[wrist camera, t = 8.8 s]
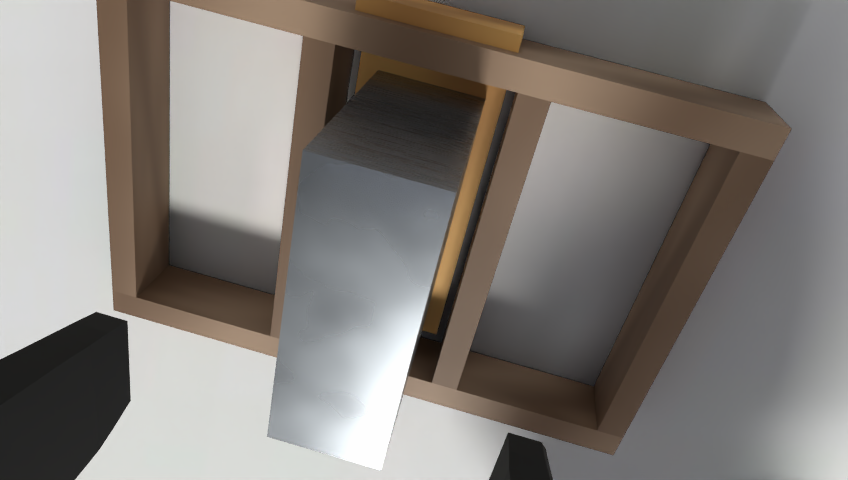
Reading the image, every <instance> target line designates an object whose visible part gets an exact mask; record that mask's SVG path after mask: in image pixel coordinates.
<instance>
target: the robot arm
mask: <svg viewBox="0 0 848 480" xmlns="http://www.w3.org/2000/svg"><path fill="white" fill-rule="evenodd" d="M130 401H131V400H130V375H129V350H128V325H127V321H125V320H122V319H118V318H115V317H111V316H108V315H105V314H101V313H98V312H95V313H93V314H91V315H89V316H87V317H85V318H83V319H81V320H79V321H77V322H75V323H73V324H71V325H69V326H67V327H65V328H63V329H61V330H59V331H57V332H55V333H53V334H51V335H49V336H47V337H45V338H43V339H41V340H39V341H37V342H35V343H33V344H31V345H29V346H27V347H25V348H23V349H21V350H19V351H17V352H15V353H13V354H11V355H9V356H7V357H4V358H2V359H0V480H75V479H76V478H77V476H78V475H79V474H80V473H81V471H82V470H83V469H84V468H85V467H86V465H87V464H88V463H89V462H90V460H91V459H92V458H93V457H94V455H95V454H96V453H97V452H98V450H99V449H100V448H101V446H102V445H103V443H104V442H105V440H106V439H107V437H108V435H109V434H110V432H111V431H112V429H113V428H114V426H115V425H116V423H117V422H118V420H119V418H120V417H121V415H122V413H123V412H124V410H125V409H126V407H127V405H128V404H129V402H130ZM489 480H553V478H552V474H551V470H550V466H549V462H548V458H547V453H546V449H545V447H544V445H543V444H542V442H539V441H535V440H532V439H528V438H525V437H522V436H518V435H515V434H511V433H508V435H507V437H506V439H505V442H504V444H503V447H502V449H501V452H500V454H499V457H498V459H497V462H496V464H495V467H494V469H493V472H492V474H491V476H490V479H489Z"/></svg>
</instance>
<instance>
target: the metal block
mask: <svg viewBox="0 0 848 480" xmlns="http://www.w3.org/2000/svg"><path fill="white" fill-rule="evenodd" d="M485 100H486V99H485V98H481V97H477V96H473V95H470V94H466V93H462V92H459V91H455V90H451V89H447V88H444V87H440V86H436V85H433V84H429V83H425V82H421V81H418V80H414V79H410V78H407V77H403V76H399V75H395V74H392V73H388V72H384V71H381V70H378V71H377V72H376V73H375V74H374V75H373V76H372V77H371V78H370V79H369V80H368V81H367V82H366V83H365V85H364V86H363V87H362V88H361V89H360V90H359V91H358V92H357V93H356V94H355V95H354V96H353V97H352V98H351V99H350V100H349V102H348V103H347V104H346V105H345V106H344V107H343V108H342V109H341V110H340V111H339V112H338V113H337V114H336V115H335V116H334V117H333V119H332V120H331V121H330V122H329V123H328V124H327V125H326V126H325V127H324V128H323V129H322V130H321V131H320V132H319V133H318V134H317V135H316V137H315V138H314V139H313V140H312V141H311V142H310V143H309V144H308V145H307V146H306V147H305V148H304V149H303V151H302V159H301V167H300V175H299V183H298V191H297V200H296V208H295V216H294V224H293V232H292V240H291V248H290V256H289V264H288V272H287V280H286V289H285V297H284V305H283V313H282V321H281V329H280V337H279V345H278V353H277V361H276V369H275V378H274V386H273V394H272V402H271V410H270V418H269V426H268V434H267V437H270V438H274V439H277V440H280V441H284V442H287V443H290V444H294V445H297V446H300V447H304V448H307V449H310V450H314V451H317V452H320V453H324V454H327V455H330V456H334V457H337V458H340V459H344V460H347V461H350V462H354V463H357V464H360V465H364V466H367V467H371V468H374V469H377V470H381V469H382V465H383V462H384V458H385V455H386V452H387V448H388V445H389V441H390V438H391V435H392V431H393V428H394V424H395V421H396V418H397V414H398V411H399V407H400V404H401V401H402V397H403V394H404V390H405V387H406V384H407V380H408V377H409V373H410V370H411V367H412V363H413V360H414V356H415V353H416V350H417V346H418V343H419V339H420V336H421V333H422V329H423V326H424V322H425V319H426V315H427V311H428V308H429V304H430V300H431V297H432V293H433V289H434V286H435V282H436V278H437V275H438V271H439V268H440V264H441V260H442V257H443V253H444V249H445V246H446V242H447V238H448V235H449V231H450V227H451V224H452V220H453V217H454V213H455V209H456V206H457V202H458V198H459V195H460V191H461V187H462V184H463V180H464V176H465V173H466V169H467V166H468V162H469V158H470V155H471V151H472V147H473V144H474V140H475V136H476V133H477V129H478V125H479V122H480V118H481V115H482V111H483V107H484V104H485Z"/></svg>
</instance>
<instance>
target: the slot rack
mask: <svg viewBox="0 0 848 480" xmlns="http://www.w3.org/2000/svg"><path fill="white" fill-rule="evenodd" d="M96 1H97V19H98V36H99V54H100V72H101V90H102V108H103V126H104V144H105V162H106V180H107V198H108V216H109V233H110V251H111V269H112V287H113V305H114V310H115V311H119V312H122V313H126V314H129V315H132V316H136V317H139V318H143V319H146V320H150V321H153V322H157V323H160V324H163V325H167V326H170V327H174V328H177V329H181V330H184V331H188V332H191V333H194V334H198V335H201V336H205V337H208V338H212V339H215V340H218V341H222V342H225V343H229V344H232V345H236V346H239V347H243V348H246V349H249V350H253V351H256V352H260V353H263V354H267V355H270V356H274V357H277V353H278V345H279V337H280V329H281V321H282V313H283V305H284V297H285V289H286V280H287V272H288V264H289V256H290V248H291V240H292V232H293V224H294V216H295V208H296V200H297V191H298V183H299V175H300V167H301V159H302V151H303V149H304V148H305V147H306V146H307V145H308V144H309V143H310V142H311V141H312V140H313V139H314V138H315V137H316V135H317V134H318V133H319V132H320V131H321V130H322V129H323V128H324V127H325V126H326V125H327V124H328V123H329V122H330V121H331V120H332V119H333V117H334V116H335V115H336V114H337V113H338V112H339V111H340V110H341V109H342V108H343V107H344V106H345V105H346V100H347V94H348V87H349V80H350V74H351V67H352V61H353V54H354V50H358V51H361V58H360V64H359V70H358V77H357V83H356V89H355V94H356V93H357V92H358V91H359V90H360V89H361V88H362V87H363V86H364V85H365V83H366V82H367V81H368V80H369V79H370V78H371V77H372V76H373V75H374V74H375V73H376V72H377V71H378V70H381V71H384V72H388V73H392V74H395V75H399V76H403V77H407V78H410V79H414V80H418V81H421V82H425V83H429V84H433V85H436V86H440V87H444V88H447V89H451V90H455V91H459V92H462V93H466V94H470V95H473V96H477V97H481V98H485V99H486V100H485V104H484V107H483V111H482V115H481V118H480V122H479V125H478V129H477V133H476V136H475V140H474V144H473V147H472V151H471V155H470V158H469V162H468V166H467V169H466V173H465V176H464V180H463V184H462V187H461V191H460V195H459V198H458V202H457V206H456V209H455V213H454V217H453V220H452V224H451V227H450V231H449V235H448V238H447V242H446V246H445V249H444V253H443V257H442V260H441V264H440V268H439V271H438V275H437V278H436V282H435V286H434V289H433V293H432V297H431V300H430V304H429V308H428V311H427V315H426V319H425V322H424V326H423V329H422V331H426V332H429V333H433V334H437V330H438V327H439V323H440V320H441V317H442V313H443V310H444V306H445V303H446V299H447V296H448V292H449V289H450V285H451V282H452V278H453V275H454V271H455V268H456V264H457V261H458V257H459V254H460V250H461V247H462V243H463V240H464V236H465V233H466V229H467V226H468V222H469V219H470V215H471V212H472V209H473V205H474V202H475V198H476V195H477V191H478V188H479V184H480V181H481V177H482V174H483V170H484V167H485V163H486V160H487V156H488V153H489V149H490V146H491V142H492V139H493V135H494V132H495V128H496V125H497V121H498V118H499V114H500V111H501V107H502V104H503V101H504V97H505V94H506V90H509V91H513V92H515V96H514V99H513V102H512V106H511V109H510V113H509V116H508V119H507V123H506V126H505V130H504V133H503V136H502V140H501V143H500V146H499V150H498V153H497V157H496V160H495V163H494V167H493V170H492V174H491V177H490V180H489V184H488V187H487V191H486V194H485V197H484V201H483V204H482V207H481V211H480V214H479V218H478V221H477V224H476V228H475V231H474V235H473V238H472V241H471V245H470V248H469V251H468V255H467V258H466V262H465V265H464V268H463V272H462V275H461V279H460V282H459V285H458V289H457V292H456V296H455V299H454V302H453V306H452V309H451V312H450V316H449V319H448V323H447V326H446V329H445V333H444V336H443V340H442V343H440V342H436V341H433V340H429V339H426V338H422V337H420V339H419V343H418V346H417V350H416V353H415V356H414V360H413V363H412V367H411V370H410V373H409V377H408V380H407V384H406V387H405V390H404V395H408V396H411V397H415V398H418V399H422V400H425V401H428V402H432V403H435V404H439V405H442V406H446V407H449V408H453V409H456V410H459V411H463V412H466V413H470V414H473V415H477V416H480V417H483V418H487V419H490V420H494V421H497V422H501V423H504V424H508V425H511V426H514V427H518V428H521V429H525V430H528V431H532V432H535V433H539V434H542V435H545V436H549V437H552V438H556V439H559V440H563V441H566V442H570V443H573V444H576V445H580V446H583V447H587V448H590V449H594V450H597V451H601V452H604V453H607V454H611V455H614V453H615V451H616V449H617V447H618V446H619V444H620V442H621V440H622V438H623V437H624V435H625V433H626V431H627V429H628V427H629V426H630V424H631V422H632V420H633V418H634V416H635V415H636V413H637V411H638V409H639V407H640V405H641V404H642V402H643V400H644V398H645V396H646V394H647V393H648V391H649V389H650V387H651V385H652V383H653V382H654V380H655V378H656V376H657V374H658V372H659V371H660V369H661V367H662V365H663V363H664V361H665V360H666V358H667V356H668V354H669V352H670V350H671V349H672V347H673V345H674V343H675V341H676V339H677V338H678V336H679V334H680V332H681V330H682V329H683V327H684V325H685V323H686V321H687V319H688V318H689V316H690V314H691V312H692V310H693V308H694V307H695V305H696V303H697V301H698V299H699V297H700V296H701V294H702V292H703V290H704V288H705V286H706V285H707V283H708V281H709V279H710V277H711V275H712V274H713V272H714V270H715V268H716V266H717V264H718V263H719V261H720V259H721V257H722V255H723V253H724V252H725V250H726V248H727V246H728V244H729V242H730V241H731V239H732V237H733V235H734V233H735V232H736V230H737V228H738V226H739V224H740V222H741V221H742V219H743V217H744V215H745V213H746V211H747V210H748V208H749V206H750V204H751V202H752V200H753V199H754V197H755V195H756V193H757V191H758V189H759V188H760V186H761V184H762V182H763V180H764V178H765V177H766V175H767V173H768V171H769V169H770V167H771V166H772V164H773V162H774V160H775V158H776V156H777V155H778V153H779V151H780V149H781V147H782V145H783V144H784V142H785V140H786V138H787V136H788V134H789V133H790V131H791V128H790V127H789V126H788V125H787V124H786V123H785V122H784V121H783V119H782V118H781V117H780V116H779V115H778V114H777V113H776V112H775V111H774V110H773V109H772V108H771V107H770V106H769V105H768V104H767V103H766V102H762V101H759V100H755V99H751V98H747V97H743V96H739V95H736V94H732V93H728V92H724V91H720V90H716V89H713V88H709V87H705V86H701V85H697V84H693V83H690V82H686V81H682V80H678V79H674V78H670V77H667V76H663V75H659V74H655V73H651V72H647V71H644V70H640V69H636V68H632V67H628V66H624V65H621V64H617V63H613V62H609V61H605V60H601V59H598V58H594V57H590V56H586V55H582V54H578V53H575V52H571V51H567V50H563V49H559V48H556V47H552V46H548V45H544V44H540V43H536V42H533V41H529V40H525V39H522V38H523V34H524V29H525V26H524V25H520V24H516V23H512V22H508V21H505V20H501V19H497V18H493V17H489V16H485V15H482V14H478V13H474V12H470V11H466V10H462V9H458V8H455V7H451V6H447V5H443V4H439V3H435V2H432V1H428V0H170V1H173V2H177V3H181V4H185V5H188V6H192V7H196V8H200V9H204V10H207V11H211V12H215V13H219V14H222V15H226V16H230V17H234V18H237V19H241V20H245V21H249V22H253V23H256V24H260V25H264V26H268V27H271V28H275V29H279V30H283V31H286V32H290V33H294V34H298V35H302V36H303V43H302V52H301V61H300V70H299V79H298V88H297V98H296V107H295V116H294V125H293V134H292V143H291V152H290V161H289V170H288V179H287V188H286V198H285V207H284V216H283V225H282V234H281V243H280V252H279V261H278V270H277V279H276V289H275V295H272V294H268V293H265V292H261V291H258V290H254V289H251V288H247V287H244V286H240V285H237V284H233V283H230V282H226V281H223V280H219V279H216V278H212V277H209V276H205V275H202V274H198V273H195V272H191V271H188V270H184V269H181V268H177V267H174V266H170V265H169V0H96ZM551 102H554V103H558V104H562V105H565V106H569V107H573V108H577V109H581V110H584V111H588V112H592V113H596V114H599V115H603V116H607V117H611V118H614V119H618V120H622V121H626V122H630V123H633V124H637V125H641V126H645V127H648V128H652V129H656V130H660V131H663V132H667V133H671V134H675V135H679V136H682V137H686V138H690V139H694V140H697V141H701V142H705V143H709V144H710V146H709V148H708V150H707V153H706V155H705V157H704V159H703V161H702V163H701V165H700V167H699V169H698V171H697V173H696V175H695V177H694V180H693V182H692V184H691V186H690V188H689V190H688V192H687V194H686V196H685V198H684V200H683V202H682V204H681V207H680V209H679V211H678V213H677V215H676V217H675V219H674V221H673V223H672V225H671V227H670V229H669V231H668V234H667V236H666V238H665V240H664V242H663V244H662V246H661V248H660V250H659V252H658V254H657V256H656V258H655V260H654V263H653V265H652V267H651V269H650V271H649V273H648V275H647V277H646V279H645V281H644V283H643V285H642V287H641V290H640V292H639V294H638V296H637V298H636V300H635V302H634V304H633V306H632V308H631V310H630V312H629V314H628V317H627V319H626V321H625V323H624V325H623V327H622V329H621V331H620V333H619V335H618V337H617V339H616V341H615V344H614V346H613V348H612V350H611V352H610V354H609V356H608V358H607V360H606V362H605V364H604V366H603V368H602V370H601V373H600V375H599V377H598V379H597V381H596V383H595V385H594V386H590V385H587V384H583V383H580V382H576V381H573V380H569V379H566V378H562V377H559V376H555V375H552V374H548V373H545V372H541V371H538V370H534V369H531V368H527V367H524V366H520V365H517V364H513V363H510V362H506V361H503V360H499V359H496V358H492V357H489V356H485V355H482V354H478V353H475V352H471V351H469V350H470V347H471V344H472V341H473V338H474V335H475V332H476V329H477V326H478V323H479V320H480V317H481V314H482V311H483V308H484V305H485V302H486V298H487V295H488V292H489V289H490V286H491V283H492V280H493V277H494V274H495V271H496V268H497V265H498V262H499V259H500V256H501V253H502V250H503V247H504V244H505V241H506V237H507V234H508V231H509V228H510V225H511V222H512V219H513V216H514V213H515V210H516V207H517V204H518V201H519V198H520V195H521V192H522V189H523V186H524V183H525V180H526V176H527V173H528V170H529V167H530V164H531V161H532V158H533V155H534V152H535V149H536V146H537V143H538V140H539V137H540V134H541V131H542V128H543V125H544V122H545V119H546V116H547V112H548V109H549V106H550V103H551Z"/></svg>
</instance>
